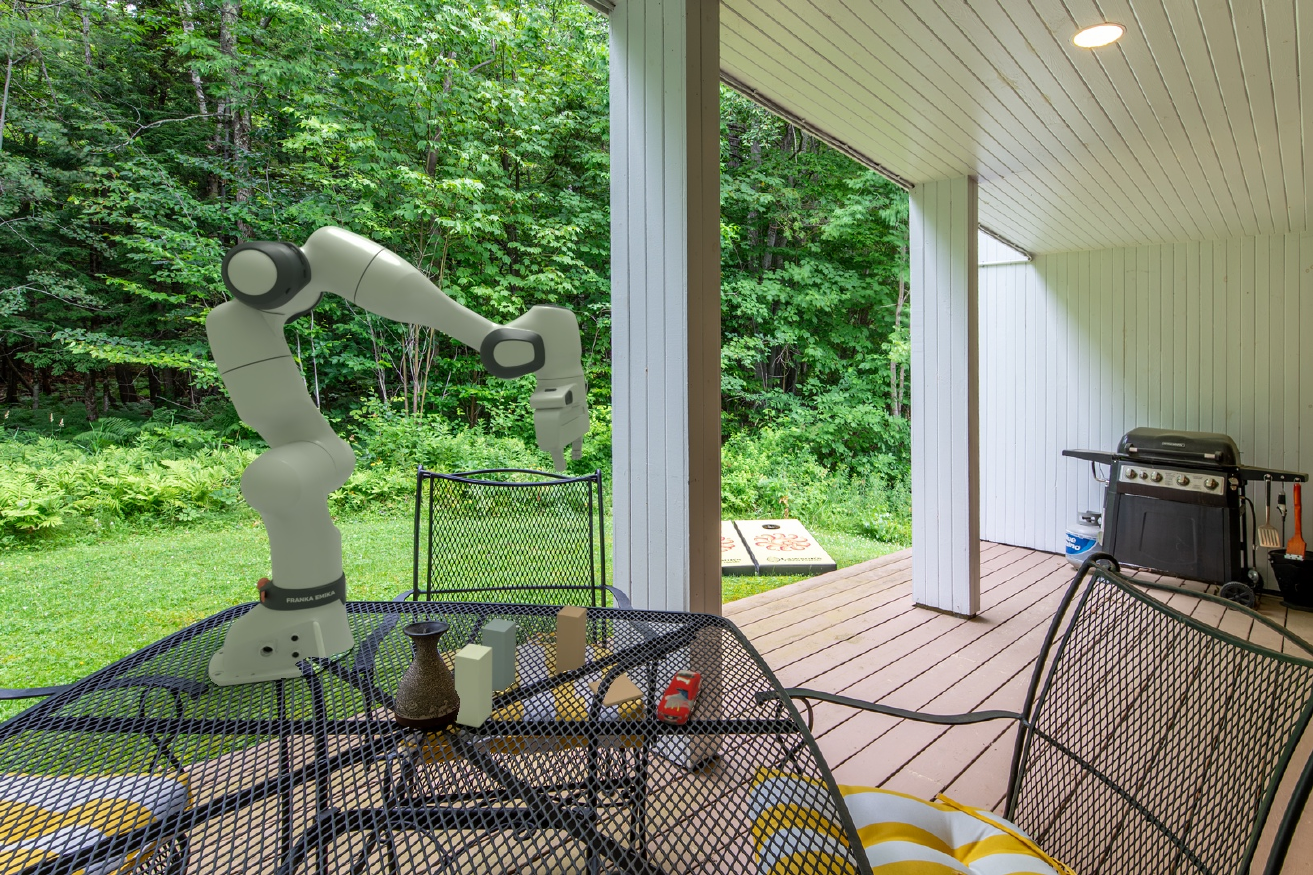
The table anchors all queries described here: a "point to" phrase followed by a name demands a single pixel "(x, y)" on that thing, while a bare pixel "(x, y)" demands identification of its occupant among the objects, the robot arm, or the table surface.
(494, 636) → the slate post
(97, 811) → the table surface
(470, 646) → the cream post
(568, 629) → the tan rectangular block
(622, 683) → the tile
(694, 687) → the race car
